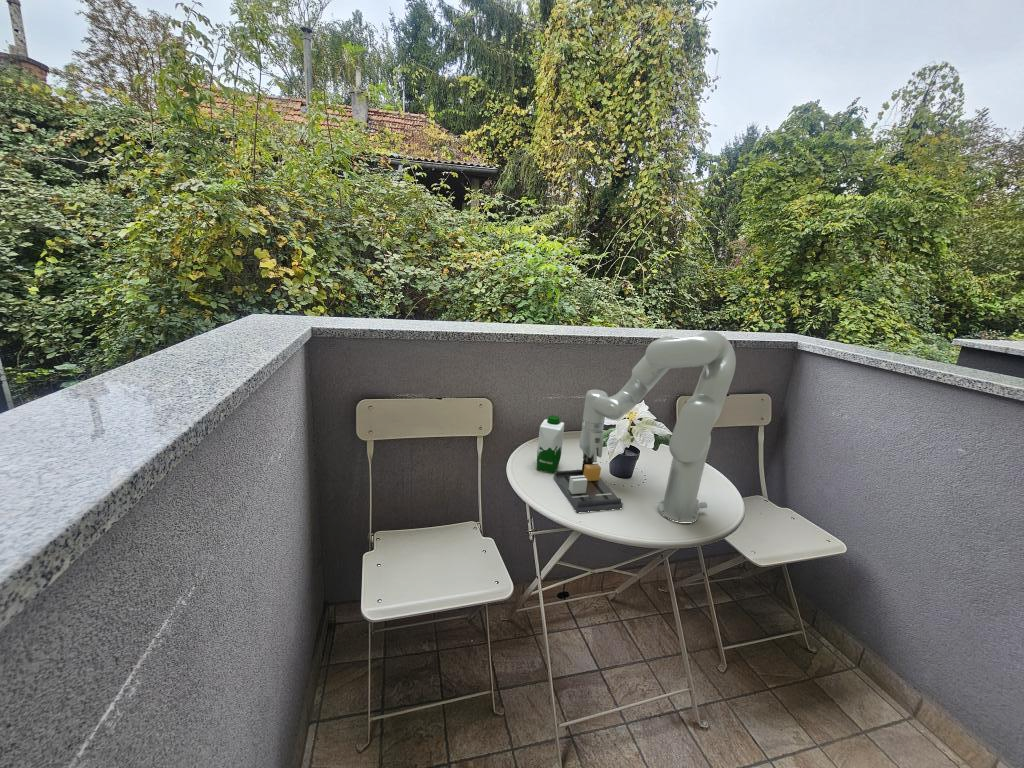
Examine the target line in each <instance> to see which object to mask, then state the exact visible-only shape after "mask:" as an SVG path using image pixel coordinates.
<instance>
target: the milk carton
mask: <svg viewBox="0 0 1024 768" xmlns="http://www.w3.org/2000/svg"><path fill="white" fill-rule="evenodd" d="M564 431H565V422H564V421H563V422H562V421H560V417H559V416H557V415H553V414H551V415H549V416H548V419H546V418H545V419H544V420H543V421H542V423H541V424H540V426H539V430H538V433H539V434H538V440H537V450H536V451H537V452H536V470H537V471H541V472H543V473H544V472H545V473H549V474H553V475H554V474H556V471H558V467H559V465H560V463H561V462H560V461H561V456H562V450H563V442H564Z"/></svg>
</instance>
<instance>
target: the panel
mask: <svg viewBox="0 0 1024 768" xmlns="http://www.w3.org/2000/svg"><path fill="white" fill-rule="evenodd" d="M583 473H584V471H583V470H582V469H569V470H556V472H555V474H554V473H553V480H554V482H556V484H557V485H558V487H559V489H560V490H561V492H562V494H563V495H564V496H565V498H566V500H568V502H569V503H571V504H570V505H571V506H573V507H572V508H573V510H574V511H575V510H576V511H575V512H576V513H577V514H580V513H579V512H586V513H591V512H590V511H596V512H601V511H600V510H606V511H613V510H612V509H617V510H621V509H620V508H622V509H623V506H624V503H623V502H622V498H620V497H618V496H617V495H616V494H615V493H614V492H613V490H612V489H611V488H610V487H609V486H608V484H607V483H606V482H605V481H604V480H603V478H601V477H600V478H599V480H595V481H587V487H586V493H580V494H571V492H570V491H569V482H570V476H582V475H583ZM588 511H589V512H588Z"/></svg>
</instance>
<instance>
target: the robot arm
mask: <svg viewBox="0 0 1024 768" xmlns="http://www.w3.org/2000/svg"><path fill="white" fill-rule="evenodd" d="M736 365H737V358H736V352H735V350H734V347H733V346H732V344H731V342H730V341H729V340H728V339H727V338H726V337H725V336H724V335H723V334H721V333H720V332H716V331H711V330H708V331H703V332H702V333H699V334H698V335H695V336H688V337H681V338H676V337H673V336H663V337H660V338H658V339H655V340H652V342H651V343H650V344H649V345H648V346H647V347H646V350H645V354H644V356H642V358H641V359H640V360H639V361H638V362H637V364H636V365H635V366H634V367H633V368H632V370H631V377H630V378H629V380H628V381H627V382H626V383H625V385H624V386H622V388H621V389H620V390H619V391H618V392H617V393H616V394H614V395H611V396H608V394H607V392H606V391H605V390H600V389H590V390H588V391H586V394H585V399H584V407H583V408H584V409H583V414H582V415H583V416H582V423H581V431H580V437H579V448H580V450H581V451H582V466H581V470H583V471H584V465H585V464H594V463H597V462H598V460H597V459H598V458H602V457H603V456H602V455H603V447H604V426H605V421H606V419H609V420H612V421H617V420H619V419H621V418H623V417H624V416H625V415H627V413H629V412H631V411H632V410H633V409H634V408H635V407H636V406H637V405H638V403H640V402H641V400H642V399H643V398H644V397H645V396H646V395H647V394H648V393H649V392H650V390H651V389H653V388H654V386H655V385H656V384H658V382H659V381H660V380H661V378H662V377H663V376H664V375H665V374H666V373H667V372H668V371H669V370H670V369H680V368H695V367H702V366H703V367H702V371H701V373H700V375H699V379H698V382H697V385H696V387H695V390H694V391H693V393H692V396H691V397H690V398H689V399H688V400H687V401H686V402H685V403H684V404H683V406H682V407H681V410H680V411H679V415H678V416H677V417H678V418H677V420H676V422H675V425H674V427H673V431H672V433H671V437H670V439H669V443H668V444H669V445H668V449H669V452H670V454H671V456H672V458H671V459H672V460H671V463H670V469H669V474H668V478H667V483H666V488H665V493H664V499H663V500H661V501H659V502H658V504H657V511H658V510H659V511H658V513H659V512H660V513H661V514H662V515H664V516H665V517H667V518H669V519H671V520H674V521H678V522H693V521H695V520H698V519H697V518H699V513H698V511H699V509H707V508H708V504H707V502H706V501H702V502H701V501H699V499H698V495H699V490H700V486H701V481H702V476H703V473H704V469H705V463H706V461H707V457H708V453H709V451H710V446H711V442H712V437H711V432H712V431H713V427H714V426H715V423H716V422H717V420H718V418H719V417H720V416H721V412H722V409H723V406H724V403H725V400H726V397H727V395H728V392H729V389H730V386H731V383H732V382H733V378H734V375H735V372H736ZM660 513H659V514H660ZM661 514H660V515H661ZM662 515H661V516H662ZM664 516H663V517H664ZM665 517H664V518H665ZM667 518H666V519H667ZM669 519H668V520H669ZM671 520H670V521H671ZM695 522H696V521H695Z"/></svg>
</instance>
